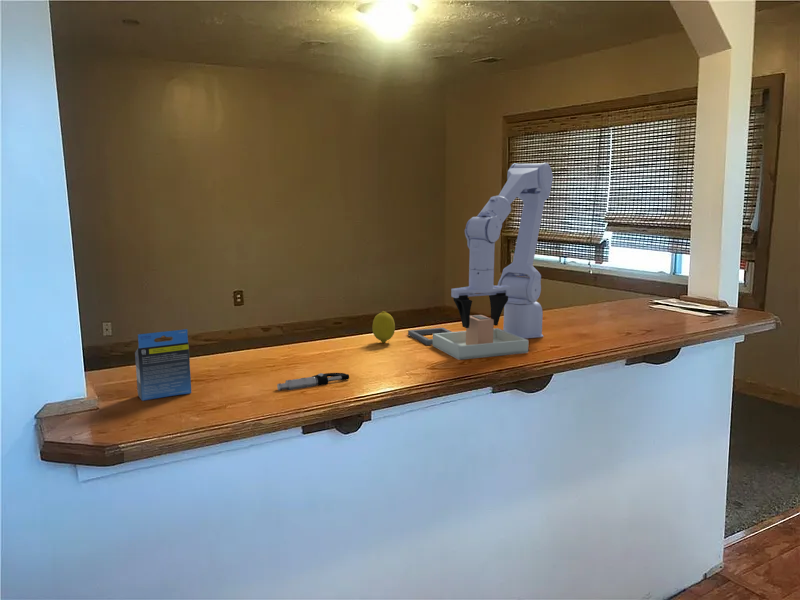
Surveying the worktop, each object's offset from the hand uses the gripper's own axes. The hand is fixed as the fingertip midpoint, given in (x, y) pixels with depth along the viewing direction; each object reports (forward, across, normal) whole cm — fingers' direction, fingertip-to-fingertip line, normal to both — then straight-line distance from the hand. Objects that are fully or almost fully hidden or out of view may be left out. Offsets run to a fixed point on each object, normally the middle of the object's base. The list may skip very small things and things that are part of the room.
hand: (480, 326), depth 157 cm
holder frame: (+6, +5, -14) cm, 16 cm away
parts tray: (+6, 0, 0) cm, 6 cm away
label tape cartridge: (+6, +71, +10) cm, 72 cm away
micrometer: (+6, +44, +11) cm, 46 cm away
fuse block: (+5, 0, 0) cm, 5 cm away
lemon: (+6, +19, -14) cm, 24 cm away
